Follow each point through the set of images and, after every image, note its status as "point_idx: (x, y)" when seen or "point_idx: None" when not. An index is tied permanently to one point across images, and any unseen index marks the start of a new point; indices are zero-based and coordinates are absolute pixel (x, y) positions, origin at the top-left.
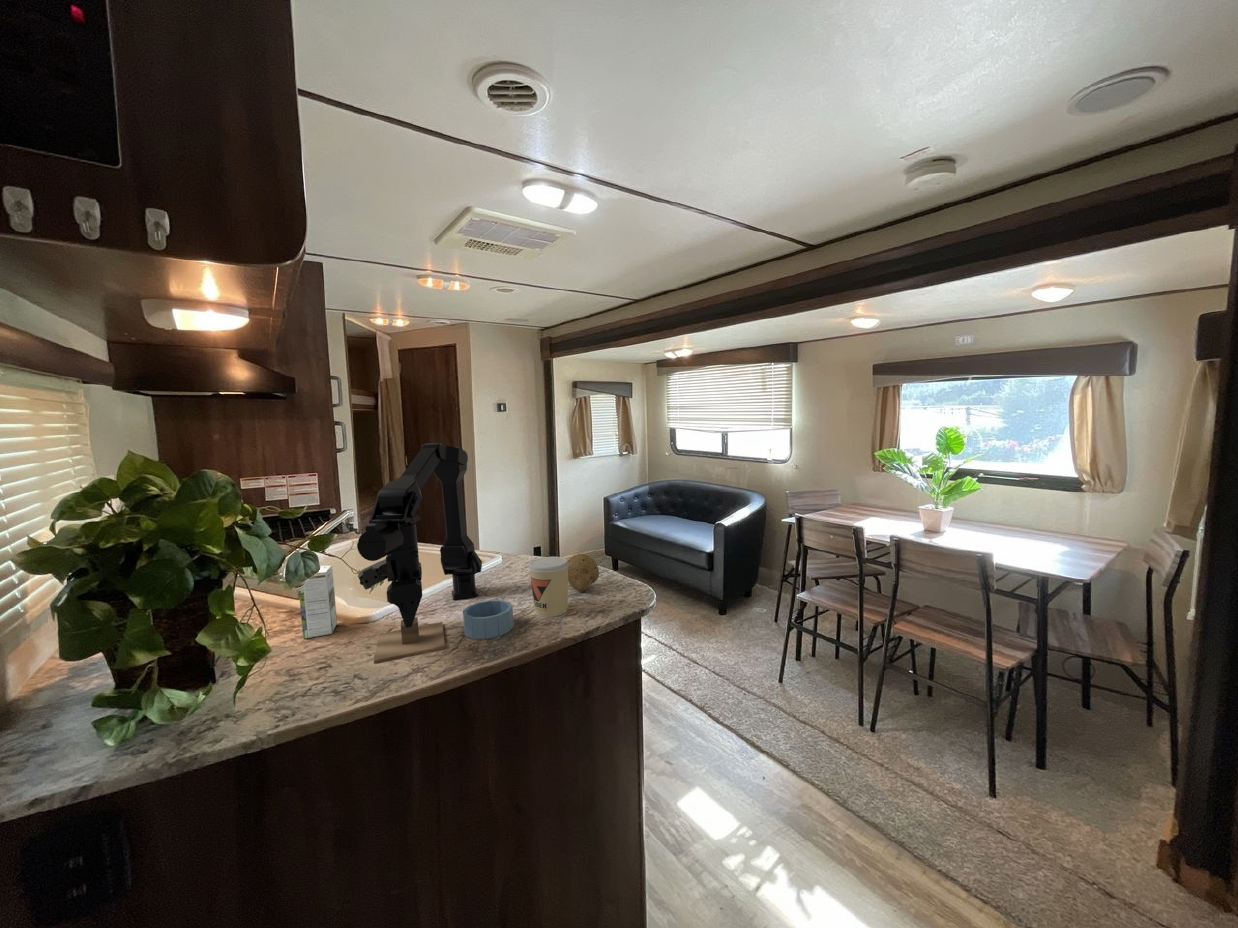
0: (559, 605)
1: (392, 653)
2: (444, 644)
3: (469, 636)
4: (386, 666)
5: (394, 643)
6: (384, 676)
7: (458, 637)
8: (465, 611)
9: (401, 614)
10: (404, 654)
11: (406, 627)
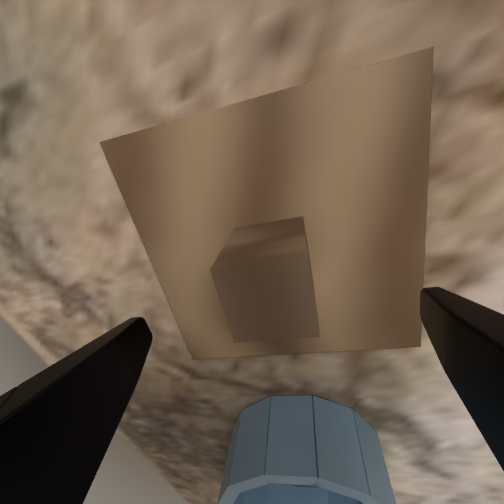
0: None
1: (157, 206)
2: (202, 357)
3: (253, 406)
4: (88, 200)
5: (254, 189)
6: (28, 212)
7: (265, 380)
8: (307, 482)
9: (16, 389)
10: (147, 252)
11: (132, 319)
